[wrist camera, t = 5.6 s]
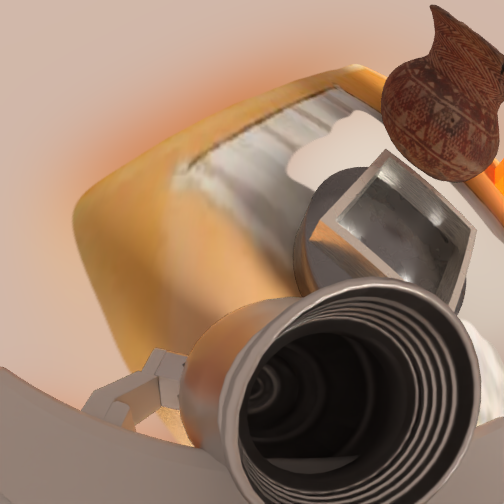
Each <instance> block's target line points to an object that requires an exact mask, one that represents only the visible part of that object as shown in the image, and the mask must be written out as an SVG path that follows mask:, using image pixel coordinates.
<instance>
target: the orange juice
mask: <svg viewBox="0 0 504 504" xmlns="http://www.w3.org/2000/svg"><path fill="white" fill-rule="evenodd" d="M495 186H496V187H497V189H498V190H499V191H500V192H501V193H502V194H503V195H504V159H503V160H502V161H501V162H500V164H499V165H498V166H497V167H496V168H495Z"/></svg>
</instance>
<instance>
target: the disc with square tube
mask: <svg viewBox="0 0 504 504" xmlns="http://www.w3.org/2000/svg"><path fill="white" fill-rule="evenodd" d="M476 232H477V230H476V229H475V228H474V227H473V226H472V225H471V223H470V222H469V221H468V220H467V219H466V218H465V217H464V216H463V215H462V214H461V213H460V212H459V211H458V210H457V209H456V208H455V207H454V206H453V205H452V204H451V203H450V202H449V201H448V200H447V199H446V198H445V197H443V196H442V195H441V194H440V193H439V192H438V191H437V190H436V189H435V188H434V187H433V186H431V185H430V184H429V183H428V182H427V181H426V180H425V179H423V178H422V177H421V176H420V175H419V174H417V173H416V172H415V171H414V170H413V169H411V168H410V167H409V166H407V165H406V164H405V163H404V162H402V161H401V160H400V159H399V158H397V157H396V156H395V155H393V154H392V153H391V152H389V151H388V150H387V149H385V150H384V151H383V152H382V153H381V155H380V156H379V157H378V158H377V159H376V160H375V161H374V162H373V163H372V164H371V165H370V167H355V168H350V169H345V170H342V171H339V172H337V173H335V174H333V175H331V176H330V177H329V178H328V179H326V180H325V181H324V182H323V183H322V184H321V185H320V186H319V187H318V189H317V190H316V192H315V194H314V195H313V197H312V200H311V202H310V204H309V207H308V209H307V211H306V214H305V216H304V218H303V221H302V223H301V225H300V228H299V230H298V233H297V235H296V239H295V243H294V251H293V267H294V273H295V278H296V282H297V285H298V288H299V291H300V293H301V296H302V298H304V297H306V296H307V295H309V294H311V293H313V292H314V291H317V290H319V289H321V288H324V287H326V286H329V285H332V284H335V283H338V282H341V281H344V280H347V279H355V278H362V277H370V276H374V277H388V278H396V279H400V280H403V281H407V282H410V283H413V284H416V285H418V286H420V287H422V288H424V289H426V290H427V291H429V292H431V293H433V294H435V295H436V296H437V297H438V298H439V299H441V300H442V301H443V302H444V303H445V304H447V305H448V306H449V307H450V308H451V309H452V311H453V312H454V313H455V314H456V316H457V314H458V313H459V311H460V308H461V306H462V303H463V299H464V295H465V289H466V274H467V270H468V267H469V263H470V259H471V255H472V251H473V246H474V242H475V237H476Z"/></svg>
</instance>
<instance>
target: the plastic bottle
mask: <svg viewBox="0 0 504 504" xmlns="http://www.w3.org/2000/svg"><path fill="white" fill-rule="evenodd" d="M178 401H179V408H180V414H181V420H182V423H183V425H184V428H185V430H186V433H187V435H188V438H189V439H190V441H191V442H192V444H193V445H194V447H195V448H200V449H203V450H204V451H206V452H207V453H208V454H210V455H211V456H212V457H213V458H214V459H215V460H217V461H218V462H220V463H221V464H223V465H224V466H226V467H227V469H228V471H229V473H230V475H231V477H232V479H233V481H234V483H235V485H236V487H237V489H238V491H239V492H240V494H241V495H242V496H243V498H244V499H245V500H246V501H247V502H248V503H249V504H426V503H427V502H428V501H429V500H430V499H431V498H432V497H433V496H434V495H435V494H436V493H437V492H438V491H439V490H440V489H441V488H442V487H443V486H444V485H445V484H446V483H447V481H448V480H449V479H450V477H451V476H452V475H453V473H454V472H455V470H456V469H457V468H458V466H459V464H460V463H461V461H462V459H463V457H464V455H465V453H466V451H467V449H468V447H469V445H470V442H471V440H472V437H473V434H474V431H475V428H476V425H477V420H478V415H479V409H480V403H481V376H480V369H479V363H478V358H477V355H476V352H475V349H474V346H473V343H472V340H471V338H470V336H469V334H468V332H467V331H466V329H465V327H464V325H463V323H462V322H461V321H460V319H459V318H458V317H457V316H456V314H455V313H454V312H453V311H452V309H451V308H450V307H449V306H448V305H447V304H445V303H444V302H443V301H442V300H441V299H439V298H438V297H437V296H436V295H435V294H433V293H431V292H429V291H427V290H426V289H424V288H422V287H420V286H418V285H416V284H413V283H410V282H407V281H403V280H400V279H396V278H388V277H374V276H370V277H362V278H355V279H347V280H344V281H341V282H338V283H335V284H332V285H329V286H326V287H324V288H321V289H319V290H317V291H314V292H313V293H311V294H309V295H307V296H306V297H304V298H302V297H286V298H277V299H268V300H263V301H260V302H256V303H253V304H249V305H246V306H243V307H241V308H239V309H237V310H235V311H233V312H231V313H229V314H227V315H226V316H224V317H223V318H222V319H220V320H219V321H218V322H216V323H215V324H214V325H212V326H211V327H210V328H209V329H208V330H207V331H206V332H205V333H204V335H203V336H202V337H201V338H200V339H199V340H198V341H197V342H196V344H195V346H194V348H193V349H192V351H191V353H190V354H189V356H188V358H187V360H186V362H185V365H184V369H183V372H182V375H181V378H180V385H179V398H178ZM354 455H360V456H359V457H358V458H356V459H355V460H354V461H352V462H350V463H348V464H346V465H344V466H342V467H340V468H338V469H334V470H331V471H327V472H323V473H314V474H305V473H294V472H291V471H287V470H284V469H281V468H279V467H277V466H275V465H273V464H271V463H270V462H269V461H268V460H267V459H265V458H264V457H276V458H328V457H343V456H354Z"/></svg>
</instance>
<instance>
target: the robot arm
mask: <svg viewBox="0 0 504 504" xmlns="http://www.w3.org/2000/svg"><path fill="white" fill-rule="evenodd" d="M188 356H189V355H185V354H181V353H177V352H173V351H169V350H164V349H160V348H157V347H156V348H155V349H153V351H152V353H151V355H150V357H149V358H148V360H147V362H146V364H145V366H144V368H143V370H142V371H141V372H140V371H137V372H135V373H132V374H130V375H128V376H126V377H124V378H122V379H119V380H117V381H115V382H113V383H111V384H108V385H106V386H104V387H102V388H99V389H97V390H95V391H93V393H92V394H91V396H90V397H89V399H88V401H87V402H86V404H85V405H84V407H83V408H82V410H81V411H80V410H78V409H76V408H74V407H72V406H70V405H67V404H65V403H63V402H61V401H60V400H58V399H56V398H54V397H52V396H50V395H48V394H46V393H45V392H43V391H41V390H39V389H37V388H36V387H34V386H32V385H30V384H29V383H28V382H26V381H24V380H23V379H21V378H19V377H18V376H17V375H15V374H14V373H12V372H11V371H9V370H8V369H6V368H4V367H0V504H249V503H248V502H247V501H246V500H245V499H244V498H243V496H242V495H241V494H240V492H239V491H238V489H237V487H236V485H235V483H234V481H233V479H232V477H231V475H230V473H229V471H228V469H227V467H226V466H224V465H223V464H221V463H220V462H218V461H217V460H215V459H214V458H213V457H212V456H211V455H210V454H208V453H207V452H206V451H204V450H203V449H200V448H195V447H190V446H186V445H181V444H177V443H172V442H169V441H164V440H161V439H157V438H154V437H150V436H147V435H144V434H140V433H137V432H136V429H135V425H137V424H138V423H140V422H141V421H142V420H144V419H145V418H147V417H148V416H149V415H151V414H152V413H154V412H155V411H156V410H158V409H159V408H160V407H161V406H163V407H167V408H172V409H176V410H180V408H179V401H178V398H179V385H180V378H181V375H182V372H183V369H184V365H185V362H186V360H187V358H188ZM359 456H360V455H354V456H343V457H328V458H276V457H264V458H265V459H267V460H268V461H269V462H270V463H271V464H273V465H275V466H277V467H279V468H281V469H284V470H287V471H291V472H294V473H305V474H314V473H323V472H327V471H331V470H334V469H338V468H340V467H342V466H344V465H346V464H348V463H350V462H352V461H354V460H355V459H356V458H358V457H359ZM426 504H504V417H498V418H496V419H494V420H491V421H489V422H487V423H484V424H482V425H479V426H477V427H476V428H475V431H474V434H473V437H472V440H471V442H470V445H469V447H468V449H467V451H466V453H465V455H464V457H463V459H462V461H461V463H460V464H459V466H458V468H457V469H456V470H455V472H454V473H453V475H452V476H451V477H450V479H449V480H448V481H447V483H446V484H445V485H444V486H443V487H442V488H441V489H440V490H439V491H438V492H437V493H436V494H435V495H434V496H433V497H432V498H431V499H430V500H429V501H428V502H427V503H426Z"/></svg>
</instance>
